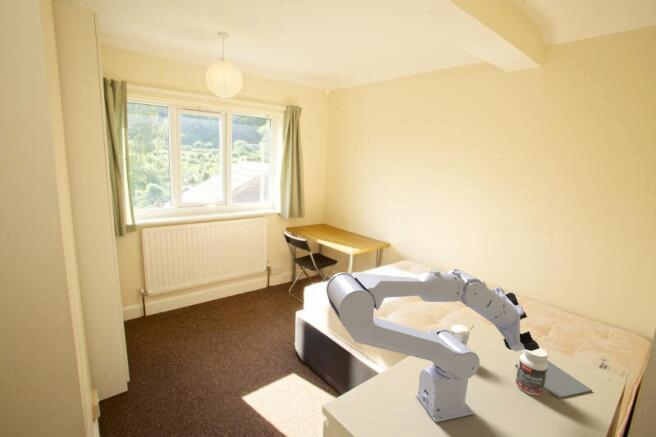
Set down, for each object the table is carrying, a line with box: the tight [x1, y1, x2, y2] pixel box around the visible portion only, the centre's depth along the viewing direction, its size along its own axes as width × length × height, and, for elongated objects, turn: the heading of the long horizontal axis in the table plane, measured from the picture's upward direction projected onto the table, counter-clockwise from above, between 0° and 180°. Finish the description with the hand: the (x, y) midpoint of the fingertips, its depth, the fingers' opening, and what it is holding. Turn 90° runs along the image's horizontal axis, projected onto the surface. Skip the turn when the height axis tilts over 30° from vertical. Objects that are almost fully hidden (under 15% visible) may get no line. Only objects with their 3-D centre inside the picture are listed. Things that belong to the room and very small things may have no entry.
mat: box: [514, 359, 593, 400], centre depth 80 cm, size 10×12×1 cm
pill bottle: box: [515, 347, 549, 396], centre depth 75 cm, size 6×6×10 cm
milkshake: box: [451, 324, 474, 347], centre depth 86 cm, size 4×5×10 cm
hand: (528, 332), depth 72 cm, fingers open, 7 cm apart
